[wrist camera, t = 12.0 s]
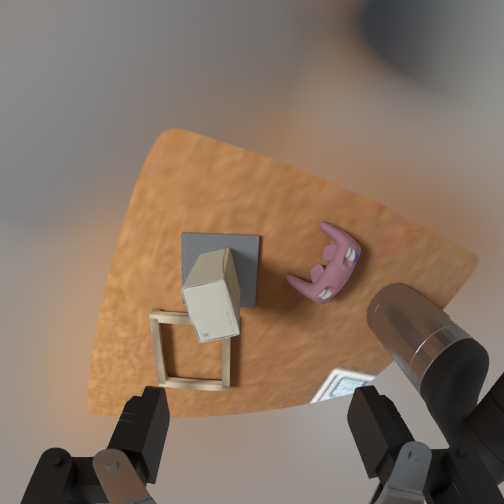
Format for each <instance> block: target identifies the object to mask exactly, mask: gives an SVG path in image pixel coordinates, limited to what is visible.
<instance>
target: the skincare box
mask: <svg viewBox="0 0 504 504" xmlns="http://www.w3.org/2000/svg"><path fill="white" fill-rule="evenodd" d="M181 292H182V295H183V298H184V302H185V305H186V308H187V311H188V314H189V317H190V319H191V322H192V325H193V327H194V330H195V332H196V335H197V337H198V340H199V342H200V343H201V342H207V341H213V340H218V339H223V338H228V337H232V336H237V335H239V334H240V293H241V288H240V285H239V280H238V276H237V272H236V268H235V265H234V261H233V257H232V253H231V250H230V248H226V249H221V250H216V251H212V252H208V253H204V254H200V255H199V257H198V259H197V261H196V263H195V264H194V266H193V268H192V270H191V272H190V274H189V276H188V278H187V279H186V281H185V283H184V285H183V287H182V289H181Z"/></svg>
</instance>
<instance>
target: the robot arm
mask: <svg viewBox="0 0 504 504" xmlns="http://www.w3.org/2000/svg"><path fill="white" fill-rule="evenodd" d="M367 321H368V325H369V327H370V328H371V330H372V331H373V332H374V334H375V335H376V336H377V338H378V339H379V340H380V342H381V343H382V344H383V346H384V347H385V348H386V350H387V351H388V352H389V354H390V355H391V356H392V358H393V359H394V360H395V362H396V363H397V364H398V366H399V367H400V368H401V370H402V371H403V372H404V374H405V375H406V376H407V378H408V379H409V381H410V382H411V383H412V385H413V386H414V387H415V389H416V390H417V391H418V393H419V394H420V396H421V397H422V398H423V400H424V401H425V403H426V405H427V408H428V410H429V412H430V414H431V416H432V417H433V419H434V420H435V422H436V423H437V425H438V427H439V428H440V430H441V432H442V433H443V435H444V437H445V439H446V441H447V442H448V444H449V446H450V447H449V448H448V449H430V448H429V447H428V446H427V445H425V444H424V443H422V442H418V441H415V440H414V438H413V436H412V434H411V433H410V431H409V429H408V427H407V426H406V424H405V422H404V420H403V419H402V418H401V415H400V413H399V412H398V411H397V409H396V407H395V405H394V403H393V402H392V401H391V400H390V399H389V398H388V397H386V396H385V395H379V393H378V392H377V390H376V388H375V387H374V386H373V385H371V386H364V387H357V388H356V389H355V391H354V394H353V398H352V401H351V404H350V407H349V410H348V414H347V418H348V424H349V427H350V429H351V432H352V435H353V437H354V440H355V442H356V445H357V448H358V450H359V453H360V456H361V458H362V461H363V463H364V466H365V469H366V471H367V474H368V477H369V479H370V478H375V477H379V480H380V482H379V483H378V485H377V487H376V489H375V491H374V494H373V496H372V498H371V500H370V502H369V504H423V503H424V500H426V503H427V504H504V498H503V496H502V494H501V492H500V490H499V488H498V486H497V485H499V484H500V483H502V482H503V481H504V372H503V374H502V375H501V376H500V378H499V379H498V380H497V381H496V383H495V384H494V385H493V386H492V388H491V389H490V391H489V392H488V393H487V394H486V395H485V397H484V398H483V399H482V400H481V402H480V403H479V404H478V405H477V401H478V397H479V393H480V391H481V388H482V386H483V383H484V380H485V378H486V375H487V372H488V367H489V356H488V353H487V351H486V350H485V348H484V347H483V346H482V345H480V344H479V343H478V342H477V341H476V340H474V339H473V338H472V337H471V336H470V335H469V334H467V333H466V332H465V331H464V330H463V329H461V328H460V327H459V326H458V325H457V324H455V323H454V322H453V321H452V320H450V317H449V316H448V315H447V314H446V313H445V312H444V311H442V310H441V309H440V308H439V307H437V306H436V305H435V304H433V303H432V302H431V301H430V300H428V299H427V298H426V297H424V296H423V295H422V294H420V293H419V292H416V291H414V290H413V289H412V288H410V287H409V286H407V285H405V284H402V283H396V284H392V285H389V286H387V287H385V288H384V289H382V290H381V291H380V292H379V293H378V294H377V295H376V296H375V297H374V299H373V300H372V302H371V304H370V306H369V309H368V313H367ZM169 420H170V414H169V408H168V403H167V398H166V392H165V389H164V388H162V387H153V386H146V387H145V389H144V392H143V394H142V397H140V396H133V397H132V398H131V399H130V400H129V401H128V402H127V403H126V404H125V407H124V409H123V411H122V414H121V416H120V418H119V421H118V423H117V426H116V428H115V430H114V433H113V435H112V437H111V440H110V442H109V445H108V447H107V448H106V449H105V450H102V451H100V452H98V453H97V454H96V455H95V456H94V457H71V456H70V454H69V453H68V452H67V451H66V450H64V449H62V448H50V449H48V450H46V451H45V452H44V453H43V454H42V455H41V457H40V459H39V462H38V464H37V466H36V468H35V471H34V473H33V475H32V477H31V480H30V482H29V484H28V486H27V489H26V492H25V494H24V496H23V499H22V501H21V504H96V503H97V504H102V503H103V504H107V503H108V504H156V502H155V501H154V499H153V498H152V497H151V496H150V494H149V493H148V491H147V490H146V484H147V483H151V484H155V482H156V478H157V473H158V469H159V464H160V460H161V456H162V452H163V447H164V443H165V439H166V435H167V431H168V426H169ZM454 484H455V485H454ZM455 486H456V487H455ZM456 488H457V489H456ZM457 490H458V491H457ZM458 492H459V493H458ZM422 493H423V495H422Z"/></svg>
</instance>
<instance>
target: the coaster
mask: <svg viewBox="0 0 504 504" xmlns="http://www.w3.org/2000/svg"><path fill="white" fill-rule="evenodd" d="M226 248H230V250H231V253H232V257H233V261H234V265H235V268H236V272H237V276H238V280H239V285H240V288H241V293H240V306H242V307H255V299H256V283H257V266H258V248H259V235H247V234H220V233H189V232H182V286H183V285H184V283H185V281H186V279H187V278H188V276H189V274H190V272H191V270H192V268H193V266H194V264H195V263H196V261H197V259H198V257H199V255H200V254H204V253H208V252H212V251H216V250H221V249H226ZM183 304H185V302H184V298H183Z"/></svg>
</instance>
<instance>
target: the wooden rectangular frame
mask: <svg viewBox="0 0 504 504" xmlns="http://www.w3.org/2000/svg"><path fill="white" fill-rule="evenodd" d="M149 315H150V324H151V333H152V341H153V349H154V356H155V363H156V369H157V375H158V382H159V386H163V387H173V388H184V389H197V390H214V391H230V337H228V338H223V339H222V381H217V380H199V379H185V378H173V377H168V374H166V366H165V359H164V350H163V342H162V332H161V323H170V324H185V325H192V322H191V319H190V317H189V314H188V313H178V312H163V311H161V309H157V308H153V309H152V311H151V313H150V314H149Z"/></svg>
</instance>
